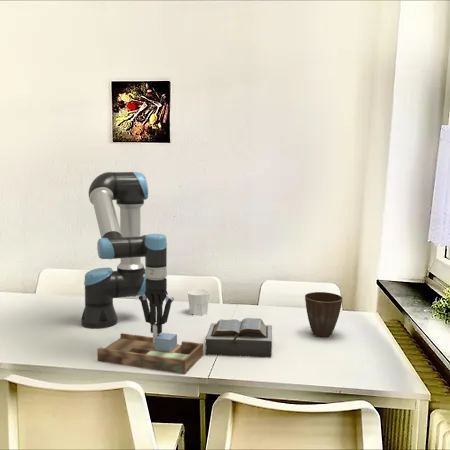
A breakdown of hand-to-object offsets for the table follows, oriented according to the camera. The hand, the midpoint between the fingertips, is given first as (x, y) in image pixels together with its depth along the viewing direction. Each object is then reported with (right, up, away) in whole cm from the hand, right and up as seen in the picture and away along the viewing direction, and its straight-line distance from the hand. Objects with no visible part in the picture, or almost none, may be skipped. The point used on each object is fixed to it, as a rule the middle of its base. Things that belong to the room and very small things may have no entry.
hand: (156, 341), depth 184 cm
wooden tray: (-2, -5, -2) cm, 6 cm away
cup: (+13, +1, +52) cm, 53 cm away
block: (+4, -2, -1) cm, 4 cm away
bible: (+30, -5, +10) cm, 32 cm away
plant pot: (+64, -3, +24) cm, 69 cm away
